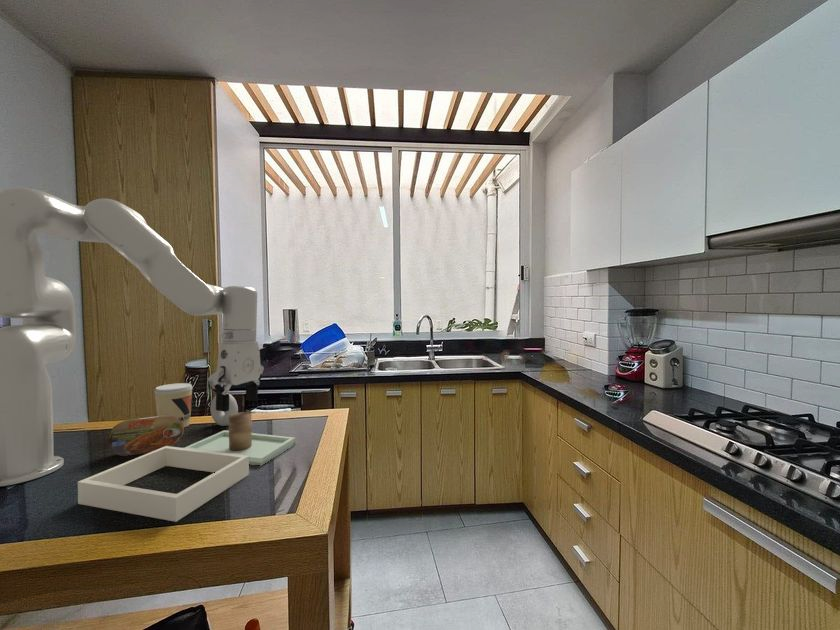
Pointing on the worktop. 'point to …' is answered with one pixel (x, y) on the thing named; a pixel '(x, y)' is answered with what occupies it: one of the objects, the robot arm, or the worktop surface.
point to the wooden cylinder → (240, 431)
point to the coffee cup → (174, 401)
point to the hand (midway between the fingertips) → (237, 405)
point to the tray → (258, 452)
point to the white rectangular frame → (156, 504)
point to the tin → (144, 435)
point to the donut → (220, 416)
